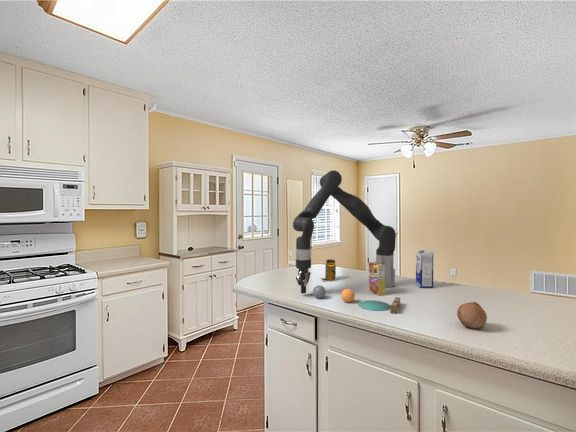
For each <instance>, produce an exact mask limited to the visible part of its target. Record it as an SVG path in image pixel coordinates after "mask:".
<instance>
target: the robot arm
mask: <svg viewBox="0 0 576 432" xmlns="http://www.w3.org/2000/svg"><path fill="white" fill-rule="evenodd" d="M342 180H343V178H342V175H341V173H340V172H339V171H337V170H330V171H328V172H326V173H325V174H324V175H323V176H322V177H320V178H319V185H320V189H319V190H318V191H317V192H316V194H315V195H314V196H313V197H312V198H311V199H310V200H309V202H308V203H307V205H306V207H305V208H304V209H303V210H302V211H301V212H300V213H299V214H297V216H295V218H294V219H293V222H292V228H293V230H295V231H296V232H301V233H302V234H301V235H300V236H298V237H296V240H295V243H296V244H295V247H296V249H295V268H296V269H298V270H297V271H298V272H297V274H298V275H296V276H295V279H296V282H297V284H298V286H300V293H301V294H306V293H307V286H308V284H309V283H310V282H309V281H310V278H311V271H309V269H311V268H312V251H311V249H312V248H311V246H312V245H311V243H312V242H311V240H312V237H313V236H312V235H313V233H314V229H315V228H314V227H315V224H314V220H313V219H316V218H317V217H318V216H319V214H320V212H321V210H322V209H323V207H324V205H325V204H326V203H327V200H328V199H329V198H330V196H331V197H332V198H333V199H335V200H336V201H337V202H338V203H339V204H340V205H342V207H343V208H344V209H345V210H346V211H348V213H350V214H351V215H352V216H353V217H354V218H355V219H356V220H357V221H358V222H359V223H361V224H362V225H363V226H364V227H366V228H367V230H368V231H369V233H371V234H372V236H373V237H374V238H375V239H376V240H377V241H378V247H377V248H376V250H375V262H377V263H380V264H383V265H385V288H393V287H395V286H396V269H395V268H394V256H395V255H394V254H395V253H394V252H395V250H396V241H397V239H396V238H397V237H396V231H395V229H394V227H392V226H389V225H385V224H383V223H381V221H380V220H378V218H376V216H374V214H373V213H372V210H371V209H370V207H369V206H368V205H367V203H365V202H364V201H363V200H362V199H361V198H360V197H358V196H356V195H354V194H351V193H349V192H347V191H344V190H343V189H342V188H341V187H340V185H341V184H342V182H343V181H342Z"/></svg>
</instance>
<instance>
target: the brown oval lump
mask: <svg viewBox="0 0 576 432" xmlns="http://www.w3.org/2000/svg"><path fill="white" fill-rule="evenodd" d="M456 317H457V319H458V320H459V322H460V323H461V324H462V326H464V327H465V328H467V329H472V330H477V329H479V330H480V329H481V328H483V327H484V326H485V325H486V323H487V320H488V316H487V313H486V311H485V309H483V306H481V305H480V304H479V303H478V302H476V301H470V302H466V303H463V304H460V305H459V306H458V308H457V311H456Z"/></svg>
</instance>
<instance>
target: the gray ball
mask: <svg viewBox="0 0 576 432" xmlns="http://www.w3.org/2000/svg"><path fill="white" fill-rule="evenodd" d="M326 292H327V291H326V289H325V287H324V286H323V285H316V286H315V287H313V289H312V295H313V296H314V297H315V298H317V299H322V298H323V297H325V295H326Z"/></svg>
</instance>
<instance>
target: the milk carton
mask: <svg viewBox="0 0 576 432" xmlns="http://www.w3.org/2000/svg"><path fill="white" fill-rule="evenodd" d="M434 253H435V252H434V251H433V250H431V249H426V250H425V249H423V250H419V251H418V252H416V253H415V286H417V287H418V288H419V289H434V260H435V259H434Z"/></svg>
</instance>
